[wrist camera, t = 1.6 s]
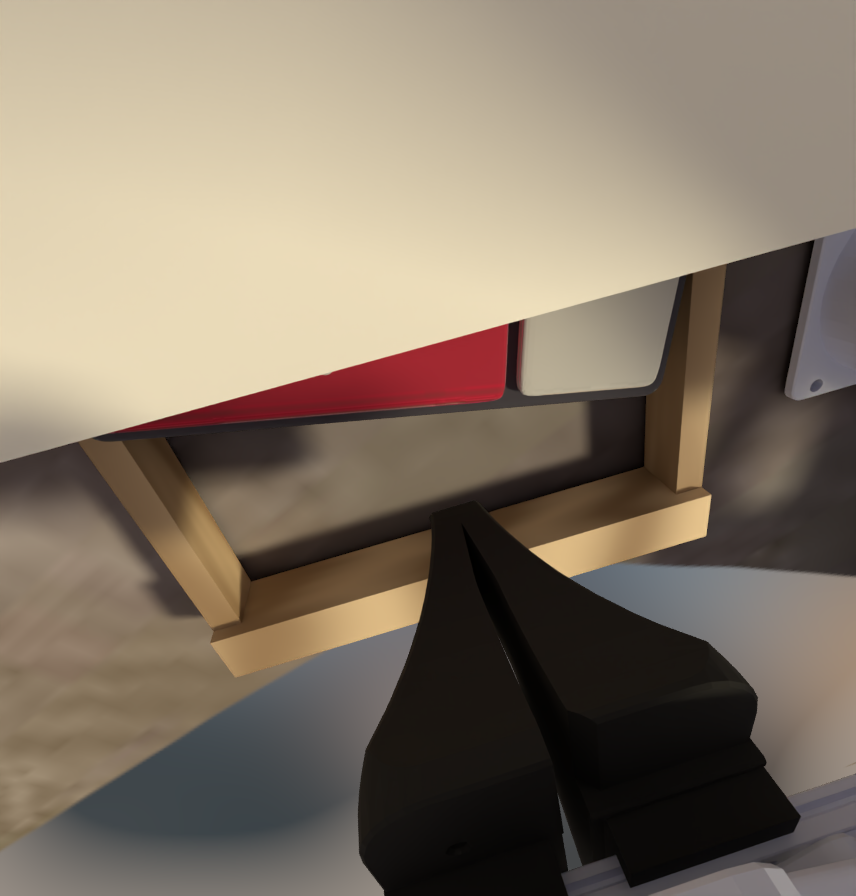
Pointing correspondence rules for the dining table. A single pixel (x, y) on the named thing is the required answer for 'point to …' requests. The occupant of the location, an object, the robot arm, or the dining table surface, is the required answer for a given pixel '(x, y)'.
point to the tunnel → (379, 179)
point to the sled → (408, 558)
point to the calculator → (470, 371)
